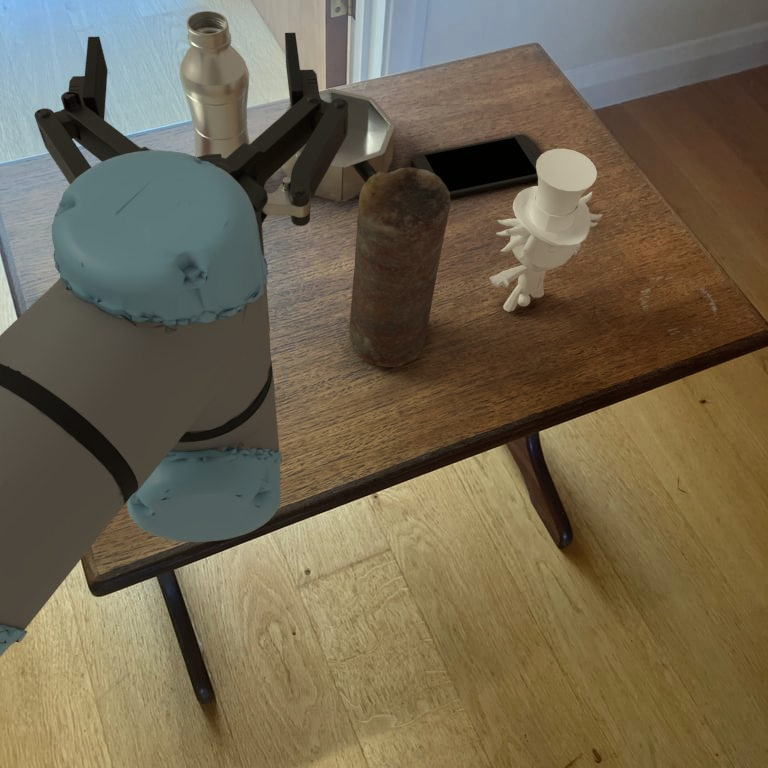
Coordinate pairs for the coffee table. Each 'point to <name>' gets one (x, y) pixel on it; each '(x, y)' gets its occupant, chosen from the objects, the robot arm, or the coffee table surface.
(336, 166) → the saucepan
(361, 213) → the candle
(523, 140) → the smartphone
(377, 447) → the coffee table surface
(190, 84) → the metal bottle
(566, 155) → the figurine
